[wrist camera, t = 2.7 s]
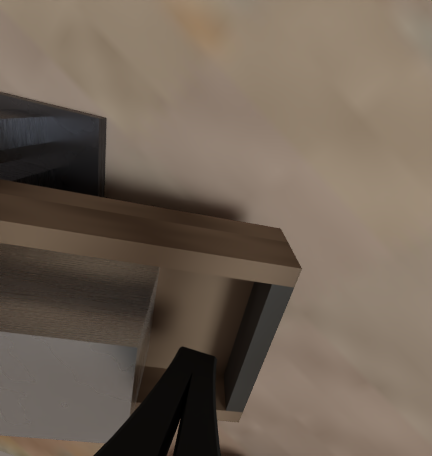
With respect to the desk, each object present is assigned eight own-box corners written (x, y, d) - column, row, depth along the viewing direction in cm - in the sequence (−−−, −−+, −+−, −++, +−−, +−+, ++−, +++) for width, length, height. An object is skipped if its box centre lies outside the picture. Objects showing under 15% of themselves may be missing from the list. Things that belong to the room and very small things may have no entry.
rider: (37, 315, 14) (-81, 423, 9) (28, 228, 12) (-134, 310, 7) (164, 354, 13) (108, 488, 9) (179, 270, 11) (114, 389, 6)
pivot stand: (10, 301, 20) (-89, 374, 14) (-25, 85, 14) (-217, 73, 8) (100, 329, 19) (33, 416, 14) (106, 117, 13) (-10, 127, 8)
